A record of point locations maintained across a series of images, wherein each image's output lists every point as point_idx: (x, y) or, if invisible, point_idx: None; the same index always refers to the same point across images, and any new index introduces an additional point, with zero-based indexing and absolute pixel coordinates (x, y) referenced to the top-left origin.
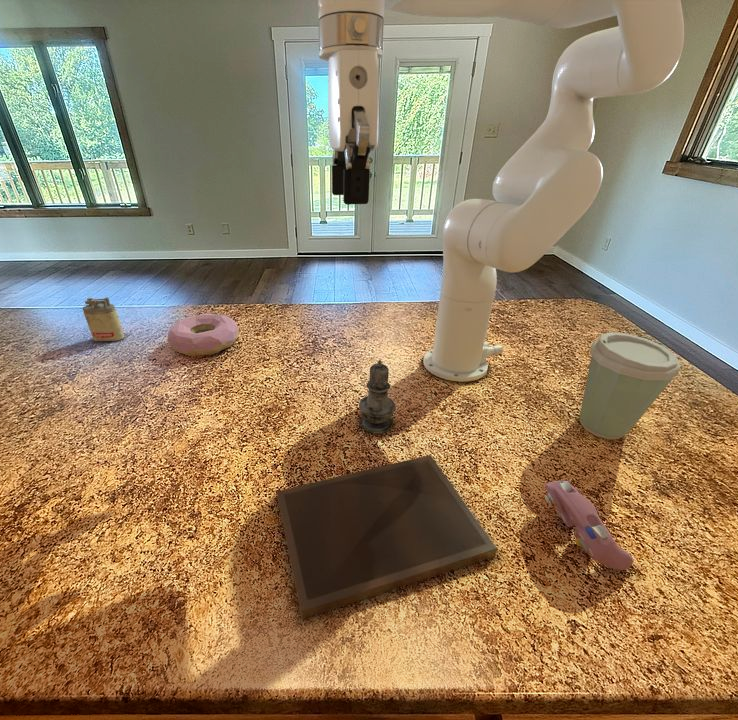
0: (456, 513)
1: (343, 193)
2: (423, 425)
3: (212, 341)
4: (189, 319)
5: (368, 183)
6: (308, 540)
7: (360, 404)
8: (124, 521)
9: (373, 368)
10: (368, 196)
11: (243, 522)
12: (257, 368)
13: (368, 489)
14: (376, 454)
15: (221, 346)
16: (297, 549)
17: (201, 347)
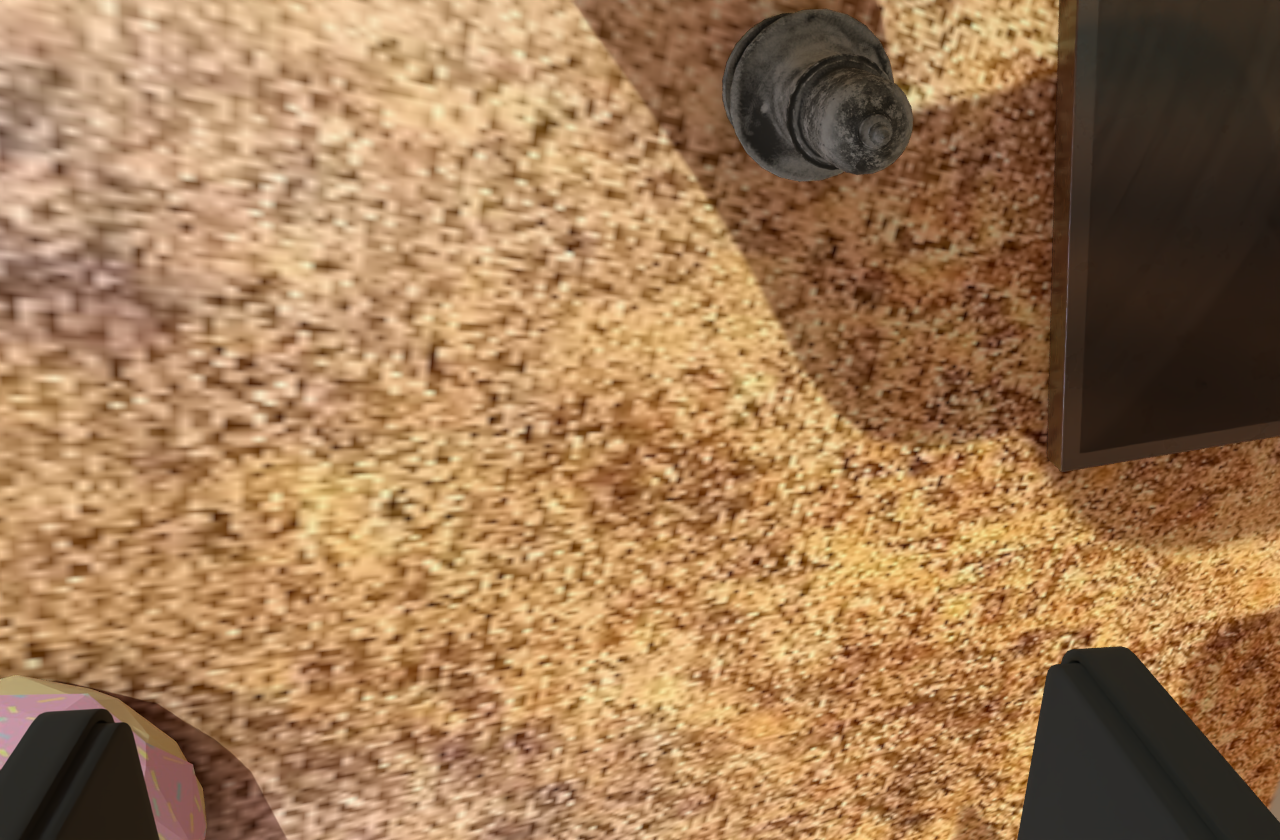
0: None
1: (156, 835)
2: None
3: (160, 785)
4: None
5: (1267, 815)
6: (1241, 396)
7: (794, 174)
8: (995, 776)
9: (880, 164)
10: (1163, 689)
11: (1089, 535)
12: (301, 556)
13: (1149, 210)
14: (962, 129)
15: (153, 733)
16: (1253, 422)
17: (194, 810)
